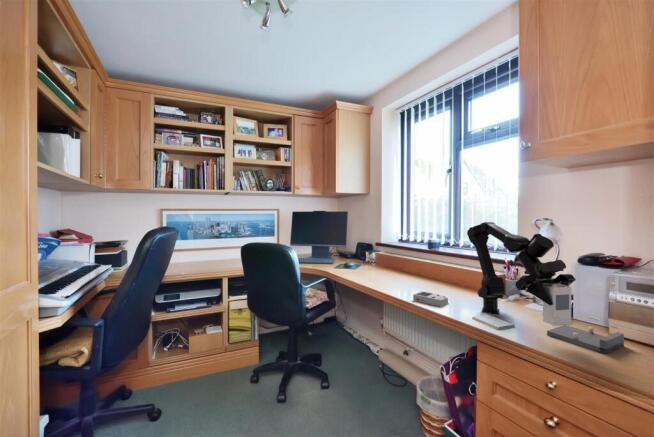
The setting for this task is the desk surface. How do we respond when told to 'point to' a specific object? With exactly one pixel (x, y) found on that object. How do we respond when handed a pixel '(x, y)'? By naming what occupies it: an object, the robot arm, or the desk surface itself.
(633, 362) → the desk surface
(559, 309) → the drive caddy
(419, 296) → the handheld gaming device
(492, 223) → the robot arm
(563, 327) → the drive dock
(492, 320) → the hard drive
